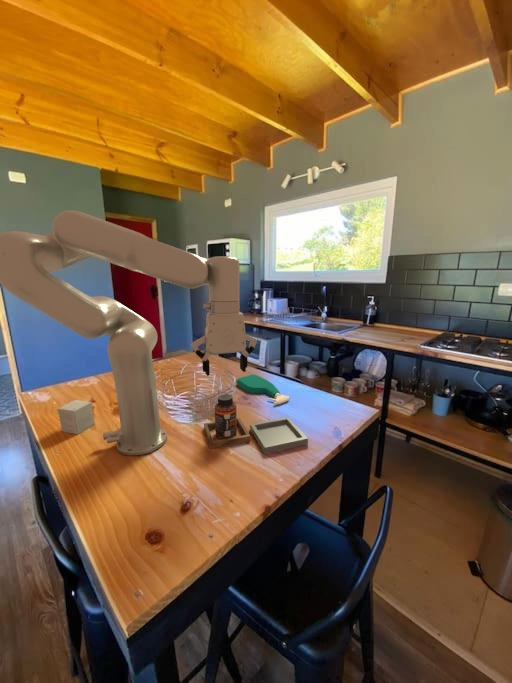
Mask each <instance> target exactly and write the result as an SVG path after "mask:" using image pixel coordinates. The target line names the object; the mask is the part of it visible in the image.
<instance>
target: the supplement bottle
mask: <svg viewBox="0 0 512 683" xmlns="http://www.w3.org/2000/svg"><path fill="white" fill-rule="evenodd" d="M233 400H234V399H233V395H231V394H228V393H224V394H221V395H218V397H217V403H215V406H214V422H215V428H214V429H215V430H214V431H215V436H216V437H217V438H218V439H220V440H223V439H228V438H233V437H236V435H237V432H238V426H237V425H238V424H237V418H238V416H237V405H236V403H235V402H234V401H233Z"/></svg>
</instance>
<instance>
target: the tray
mask: <svg viewBox="0 0 512 683" xmlns="http://www.w3.org/2000/svg"><path fill="white" fill-rule="evenodd" d="M249 430H250V432H251V434H252V435H253V436H254V438H255V440H256V442H257V443H258V445H259V447H260V448H261V450H262V451H263V453H264V454H265V455H266V454H272V453H275V452H280V451H284V450H285V451H286V450H289V449H290V450H291V449H294V448H299V447H302V446H307V445H309V444H308V443H309V437H307V436H306V434H305V433H304V432H303V431H302V430H301V429H300V428H299V427H298V426H297V425H296V423H295V422H294V421H293V420H292V419H291V418H290V417H289V416H287V417H281V418H277V419H275V418H274V419H270V420H266V421H265V420H264V421H260V422H254V423H250V424H249Z"/></svg>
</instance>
